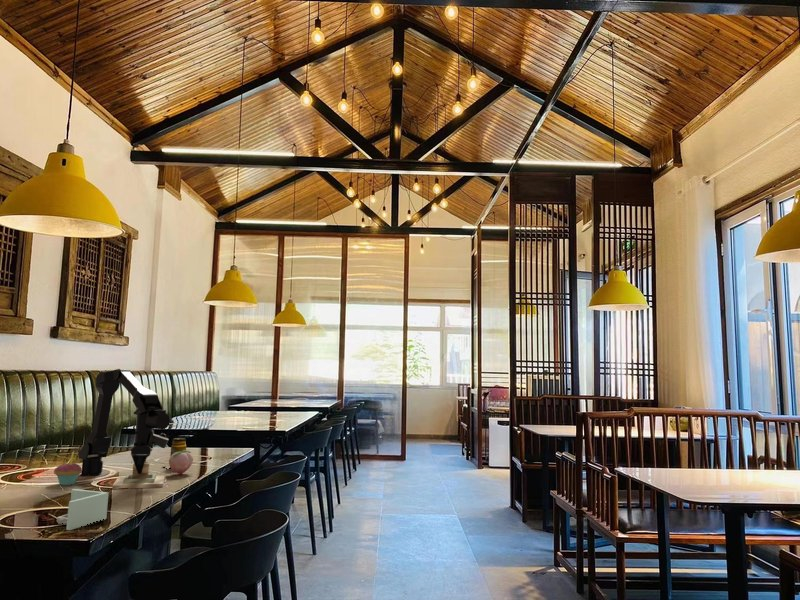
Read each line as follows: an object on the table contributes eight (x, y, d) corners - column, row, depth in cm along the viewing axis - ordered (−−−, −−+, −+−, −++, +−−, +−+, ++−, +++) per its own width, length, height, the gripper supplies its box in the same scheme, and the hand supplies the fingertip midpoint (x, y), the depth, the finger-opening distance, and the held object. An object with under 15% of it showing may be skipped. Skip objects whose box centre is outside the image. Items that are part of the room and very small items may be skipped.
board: (112, 489, 191) (112, 481, 192) (117, 480, 206) (118, 473, 206) (162, 486, 197) (163, 479, 197) (164, 478, 212) (165, 472, 212)
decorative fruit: (177, 471, 226) (178, 446, 227) (195, 473, 224) (197, 447, 226) (162, 475, 217) (164, 449, 218) (181, 477, 215) (183, 450, 217)
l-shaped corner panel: (71, 516, 157) (74, 489, 158) (106, 520, 154) (108, 492, 155) (33, 527, 146) (36, 497, 147) (69, 532, 143) (72, 501, 143)
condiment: (188, 467, 236) (190, 438, 238) (168, 469, 230) (170, 440, 232) (181, 465, 241) (183, 437, 243) (161, 467, 236) (163, 438, 237)
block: (131, 481, 198) (133, 464, 199) (133, 479, 203) (134, 462, 204) (147, 481, 200) (148, 463, 201) (148, 478, 205) (149, 461, 206)
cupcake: (85, 483, 200) (89, 448, 201) (63, 487, 192) (66, 451, 194) (70, 480, 203) (73, 447, 205) (47, 484, 196) (50, 449, 197)
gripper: (167, 430, 198) (163, 475, 196) (169, 424, 215) (165, 466, 213) (132, 430, 194) (128, 476, 192) (137, 425, 212) (133, 467, 210)
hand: (140, 471), depth 202 cm, fingers open, 8 cm apart
